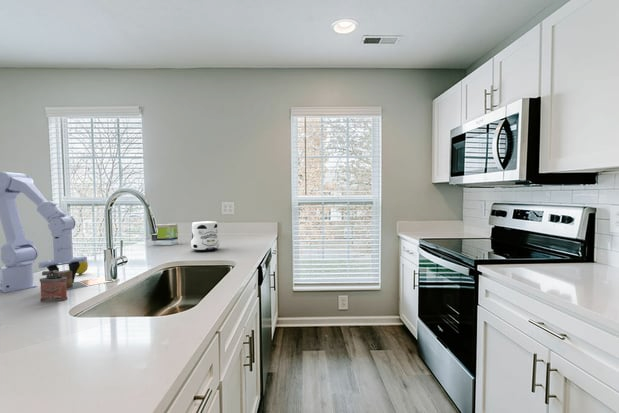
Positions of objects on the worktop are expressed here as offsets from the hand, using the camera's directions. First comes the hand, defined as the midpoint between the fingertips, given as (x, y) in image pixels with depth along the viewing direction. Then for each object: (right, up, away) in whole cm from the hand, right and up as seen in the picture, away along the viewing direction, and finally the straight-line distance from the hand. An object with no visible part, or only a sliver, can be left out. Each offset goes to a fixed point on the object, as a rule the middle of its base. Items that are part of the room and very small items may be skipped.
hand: (64, 283), depth 123 cm
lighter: (+8, -2, -15) cm, 18 cm away
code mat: (0, -2, 0) cm, 2 cm away
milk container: (+27, +1, +84) cm, 88 cm away
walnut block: (0, -1, 0) cm, 1 cm away
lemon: (-9, -1, +21) cm, 23 cm away
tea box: (-12, +1, +113) cm, 114 cm away
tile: (+7, -1, +9) cm, 11 cm away
